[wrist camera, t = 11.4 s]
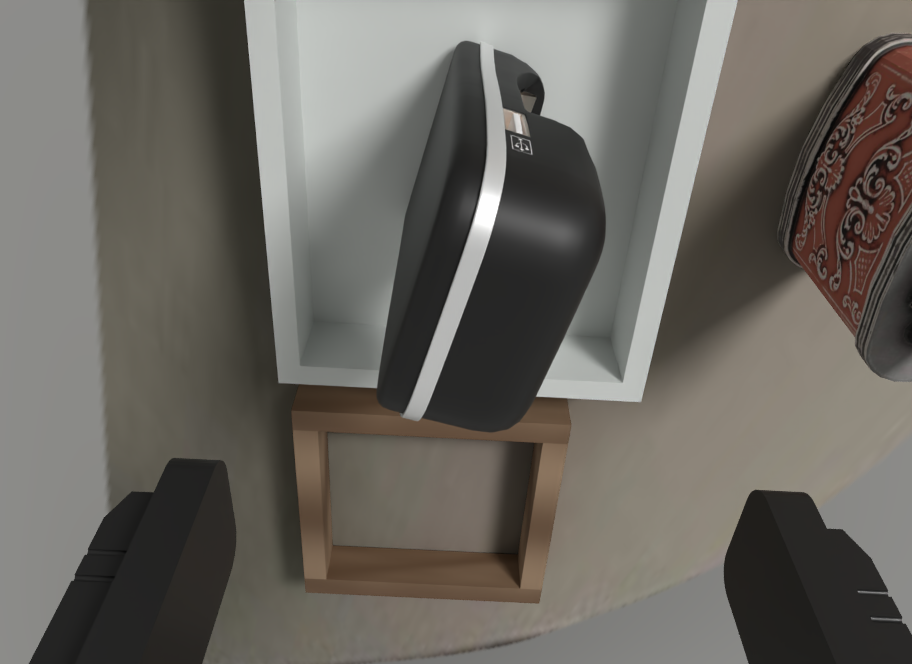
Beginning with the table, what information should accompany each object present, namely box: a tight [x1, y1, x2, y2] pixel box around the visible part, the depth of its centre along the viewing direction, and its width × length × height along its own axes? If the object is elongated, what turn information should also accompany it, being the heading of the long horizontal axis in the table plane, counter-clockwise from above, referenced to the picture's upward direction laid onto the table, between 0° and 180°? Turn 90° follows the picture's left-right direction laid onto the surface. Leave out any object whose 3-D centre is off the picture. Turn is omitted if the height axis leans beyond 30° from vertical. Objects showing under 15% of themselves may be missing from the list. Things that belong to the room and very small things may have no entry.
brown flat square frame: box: [291, 384, 571, 603], centre depth 34 cm, size 11×11×2 cm
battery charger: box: [376, 41, 606, 433], centre depth 21 cm, size 7×4×11 cm, turn 163°
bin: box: [244, 0, 738, 402], centre depth 25 cm, size 16×13×4 cm
